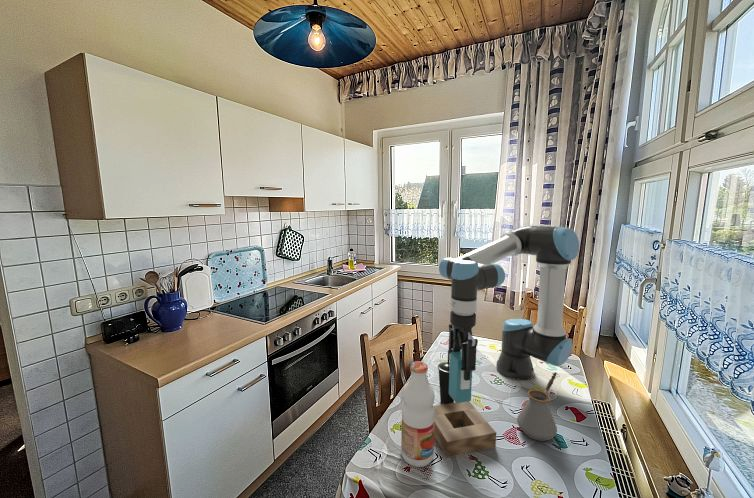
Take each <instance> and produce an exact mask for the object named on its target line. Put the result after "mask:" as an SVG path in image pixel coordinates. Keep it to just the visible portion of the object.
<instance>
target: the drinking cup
mask: <svg viewBox="0 0 754 498" xmlns="http://www.w3.org/2000/svg"><path fill="white" fill-rule="evenodd" d="M437 369H438V379H439V380H438V382H439V394H440V395H439V397H440V398H439V399H440V403H441V405H443V404H449V403H455V401H454V400H453V399H452V397H451V396H450V395H449V369H450V354H449V352H448V351H447V361H446V362H445V361H443V362H440V363H439V364H438V365H437Z"/></svg>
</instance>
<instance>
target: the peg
mask: <svg viewBox="0 0 754 498" xmlns="http://www.w3.org/2000/svg"><path fill="white" fill-rule="evenodd" d="M449 362H450V369H449V395H450V396H451V397H452V399H453V400H454V403H461V402H467V401H469V402H472V382H473V371H471V372H470V388H469V389H463V390H461V389H460V383H461V368H463V364H462V352H461V351H459V352H451V353H450V361H449Z"/></svg>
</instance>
